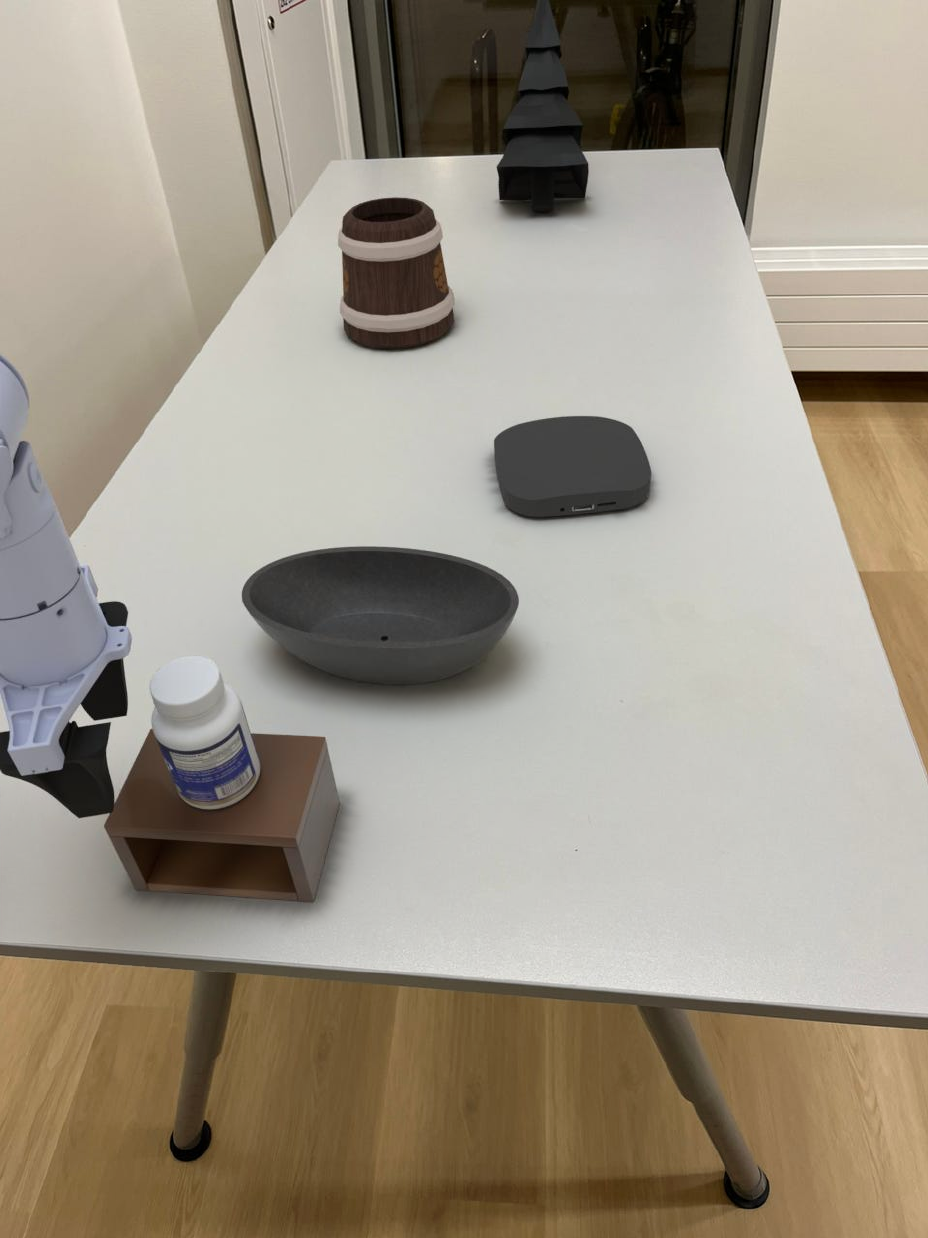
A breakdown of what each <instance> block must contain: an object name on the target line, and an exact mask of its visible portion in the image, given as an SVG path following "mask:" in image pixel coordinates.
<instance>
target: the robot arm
mask: <svg viewBox="0 0 928 1238" xmlns="http://www.w3.org/2000/svg"><path fill="white" fill-rule="evenodd" d="M29 410H30V396H29V391H28V387H27V386H26V382H25V381H24V378H23V377H22V374H20V372H19V370H17V368H16V367H15V365H13V363H12V362H11V361H10V360H9V359H8V358H7V357H5V356H4V355H2V354H1V353H0V699H1V703H2V705H3V709H4V712H5V716H6V721H7V724H8V729H9V730H6V731H0V772H1V773H2V775H4V776H8V777H10V778H11V777H12V778H14V779H18V780H21V781H24V782H26V783H29V784H31V785H33V786H35V787H38V788H39V789H41V790H43V791H44V792H46V793H48V794H49V795H50V796H52V798H54V799H55V800H57V801H58V802H59V803H60V804H61V805H62V806H63V807H65V808H66V809H67V810H68V811H69V812H71V814H73V815H74V816H75V817H76V818H78V819H84V818H89V817H96V816H97V817H98V816H103V815H109V814H110V813H112V812H113V809H114V803H115V799H116V798H115V790H114V789H115V788H114V785H113V784H114V783H113V780H112V776H111V773H110V770H109V765H108V757H107V747H108V743H109V738H110V731H111V726H112V721H108V722H101V723H95V724H89V725H83V726H79V725H78V723H77V721H76V720H71V719H72V717H73V715H74V714H75V713H76V711H77V710H78V708H79V707H80V706H81V707H82V709H83V710H84V711H85V713H86V714H87V715H88V716H89V718H91V719H92V720H93V722H95V721H102V720H108V719H109V720H110V719H115V718H122V717H127V716H128V709H129V697H128V687H127V679H126V673H125V672H126V671H125V663H124V662H125V661H124V659H125V658H126V657H127V656H129V654H130V653H131V647H132V641H133V636H132V634H131V631H130V630H131V629H130V628H129V627H128V626H127V624H128V617H129V610H128V608H127V606H126V604H125V603H123V602H122V601H117V600H114V601H113V600H112V601H105V602H99V601H98V599H97V597H98V593H99V588H98V585H97V583H96V580H95V578H94V575H93V572H92V570H91V567H90V566H89V565H81V563H80V561H79V559H78V557H77V554H76V552H75V548H74V546H73V544H72V542H71V539H70V537H69V534H68V532H67V529H66V526H65V524H64V522H63V520H62V517H61V514H60V512H59V509H58V507H57V504H56V502H55V500H54V497H53V495H52V492H51V490H50V488H49V486H48V484H47V483H46V481H45V478H44V475H43V473H42V470H41V468H40V466H39V462H38V460H37V458H36V455H35V453H34V451H33V448H32V446H31V443H30V442H29V441H27V440H22V437H23V434H24V432H25V428H26V426H27V423H28V420H29V419H28V418H29ZM70 720H71V722H70Z"/></svg>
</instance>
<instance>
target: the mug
mask: <svg viewBox="0 0 928 1238" xmlns="http://www.w3.org/2000/svg"><path fill="white" fill-rule="evenodd" d="M341 222H342V224H341V228H340V229H339V230H338V236H337V237H338V238H337V246H338V248H339V249H340V250H341V262H342V264H341V265H342V293H343V295H342V296H341V297H340V303H339V314H340V315H341V316H342V318H343V319H342V320H343V331H344V332H345V333H346V335H347V337H349V338H350V339H351V340H353V341H354V342H357V343H358V344H360V345H362V346H366V347H369V348H372V349H380V350H381V349H382V350H383V349H384V350H398V349H399V350H400V349H409V348H410V349H411V348H414V347H420V346H423V345H426V344H428V343H431V342H434V341H437V340H438V339H439V338H441V337H442V336H443V335H445V334H447V332H448V331H449V330H450V329H451V328H452V326H453V325H454V323H455V316H454V315H455V313H454V306H455V305H456V302H455V295H454V292H453V289H452V288H451V287H450V286H449V284H448V278H447V273H446V267H445V262H444V255H443V250H442V249H443V248H442V244H441V241H442V240H443V236H444V235H443V230H442V225H441V222H440V221H438V220H437V219H436V215H435V212H434V209H433V208H431V206H429V205H428V204H427V203H425V202H424V201H423V200H422V201H421V200H419V199H416V198H410V197H396V196H395V197H394V196H393V197H380V198H376V199H375V198H374V199H370V200H366V201H363V202H360V203H357V204H356V205H354V206H352V207H351V208H350V209H348V211H347V212H346V213H345V214H344V215H343V216H342V221H341Z"/></svg>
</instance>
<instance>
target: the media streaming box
mask: <svg viewBox="0 0 928 1238" xmlns="http://www.w3.org/2000/svg"><path fill="white" fill-rule="evenodd" d="M493 450H494V453H493V454H494V466H495V471H496V477H497V483H498V486H499V489H500V493H501V496H502V500H503V502H504V505H505V506H506V507H507V508H508V509H510V510H511V511H513V512H514V513H517V514H519V515H522V516H527V517H533V518H544V517H558V516H559V517H560V516H572V515H583V514H592V513H600V512H608V511H616V510H624V509H629V508H632V507H636V506H638V505H639V504H641V503H643V502H644V501H645V500H646V499H647V498H648V497H649V495H650V491H651V482H652V468H651V466H650V461H649V458H648V456H647V452H646V449H645V447H644V446H643V443H642V441H641V439H640V437H639V436H638V434H637V433H636V431H635V430H634V428H633V427H632V426H630V425H629V424H627V423H624V422H622V421H620V420H617V419H613V418H609V417H604V416H597V415H568V416H567V415H566V416H565V415H564V416H556V417H555V416H554V417H548V418H547V417H546V418H540V419H535V420H530V421H525V422H521V423H517V424H515V425H512V426H510V427H508V428H506V429H504V430H502V431H501V432H500V433H498V434H497V435H496V436H495V438H494V439H493Z"/></svg>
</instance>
